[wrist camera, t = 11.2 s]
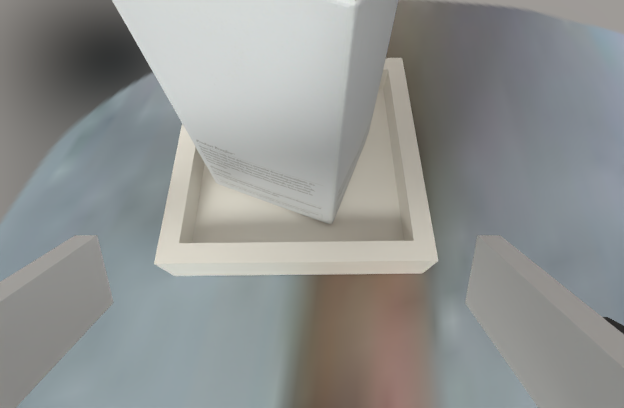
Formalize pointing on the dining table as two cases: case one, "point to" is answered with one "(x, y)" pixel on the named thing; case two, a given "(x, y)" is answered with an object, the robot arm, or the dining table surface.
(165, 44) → the supplement box
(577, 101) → the dining table surface
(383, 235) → the stoneware dish
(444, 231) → the dining table surface
